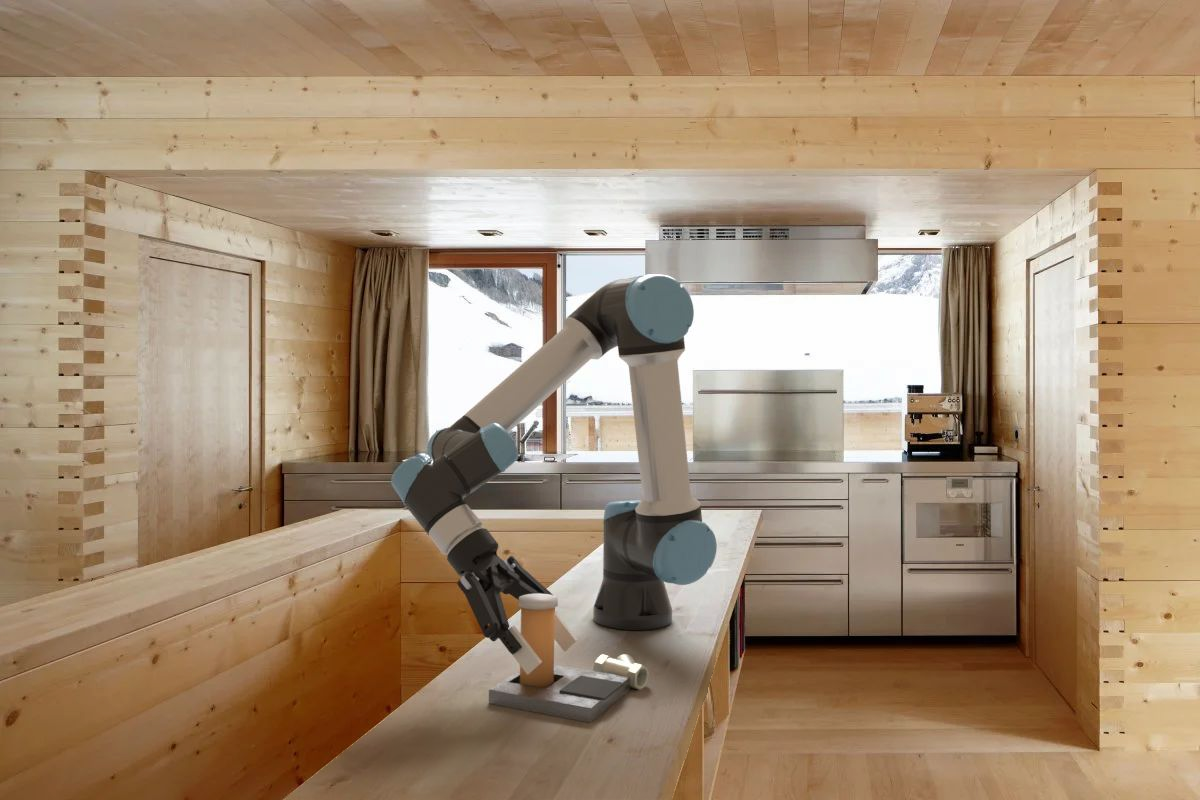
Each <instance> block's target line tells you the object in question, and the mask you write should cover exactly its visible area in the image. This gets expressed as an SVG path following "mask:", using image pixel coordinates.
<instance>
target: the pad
mask: <svg viewBox="0 0 1200 800" xmlns="http://www.w3.org/2000/svg"><path fill="white" fill-rule="evenodd" d="M623 685H624V683H622V682H616V681H610V680H604V679H598V678H592V677H586V676H581V675H580V676H579V677H578V678H576V679H575V680H573V681H572V682H571V683H569V684H568V685H566V686H565V687H563V688H562V689H561V690H560V691H559V692H560V693H566V694H572V695H577V696H583V697H589V698H594V699H600V700H606V699H607V698H608V697H609V696H611V695H612V694H613V693H614V692H616V691H617V690H618V689H619V688H621V687H622V686H623Z"/></svg>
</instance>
